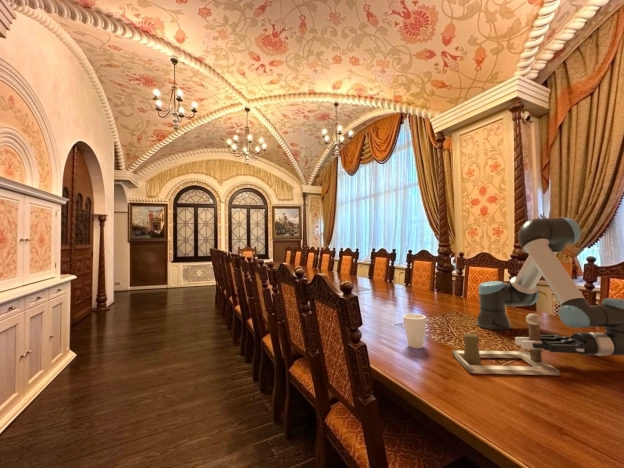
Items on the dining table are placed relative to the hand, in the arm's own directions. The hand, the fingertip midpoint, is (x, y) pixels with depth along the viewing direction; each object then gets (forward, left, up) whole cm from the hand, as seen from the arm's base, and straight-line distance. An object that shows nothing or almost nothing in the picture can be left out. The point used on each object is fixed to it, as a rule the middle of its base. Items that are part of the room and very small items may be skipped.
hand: (518, 342), depth 103 cm
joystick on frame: (-3, -6, -8) cm, 10 cm away
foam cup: (-32, -19, -8) cm, 38 cm away
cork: (-8, -14, -8) cm, 19 cm away
